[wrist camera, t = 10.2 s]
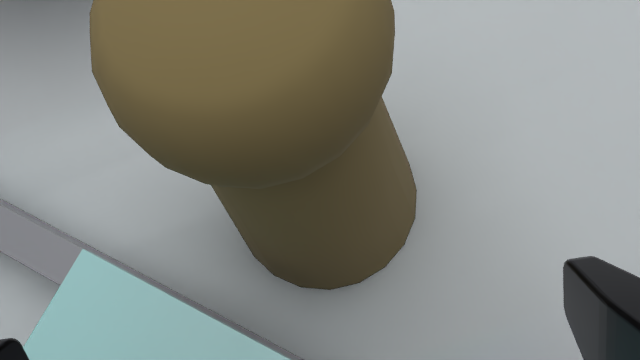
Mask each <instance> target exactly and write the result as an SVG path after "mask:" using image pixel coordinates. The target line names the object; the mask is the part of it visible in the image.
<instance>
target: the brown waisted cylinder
mask: <svg viewBox="0 0 640 360" xmlns="http://www.w3.org/2000/svg"><path fill="white" fill-rule="evenodd" d="M394 36H395V20H394V9H393V6H392V2H391V0H94V1H93V4H92V8H91V11H90V44H91V61H92V73H93V75H94V77H95V79H96V81H97V83H98V85H99V88H100V90H101V92H102V94H103V96H104V98H105V100H106V103H107V105H108V107H109V109H110V111H111V112H112V114H113V116H114V118H115V120H116V122H117V124H118V125H119V127H120V128H121V129H122V130H123V131H124V132H125V133H126V134H128V135H129V136H130V137H131V138H132V139H133V140H134V141H135V142H136V143H137V144H138V145H139V146H140V147H142V148H143V149H144V150H145V151H146V152H147V153H148V154H149V155H150V156H151V157H153V158H154V159H155V160H157V161H158V162H159V163H160V164H162V165H163V166H164V167H166V168H168V169H171V170H173V171H175V172H178V173H180V174H183V175H185V176H188V177H190V178H193V179H195V180H198V181H200V182H202V183H205V184H209V185H211V186H212V188H213V189H214V191H215V192H216V194H217V196H218V197H219V199H220V201H221V202H222V204H223V206H224V207H225V209H226V211H227V212H228V214H229V216H230V217H231V219H232V221H233V222H234V224H235V226H236V227H237V229H238V231H239V232H240V234H241V236H242V237H243V239H244V240H245V242H246V244H247V245H248V247H249V249H250V250H251V252H252V254H253V255H254V257H255V258H256V259H257V260H258V261H259V262H261V263H262V264H263V265H264V266H265V267H266V268H267V269H268V270H269V271H270V272H271V273H272V274H273V275H275V276H277V277H279V278H281V279H284V280H286V281H288V282H290V283H293V284H295V285H297V286H299V287H306V288H317V289H328V290H330V289H335V288H339V287H343V286H348V285H352V284H356V283H360V282H361V281H363V280H364V279H366V278H368V277H369V276H371V275H373V274H374V273H376V272H378V271H379V270H381V269H383V268H384V267H385V266H386V265H387V264H388V263H389V262H390V260H391V259H392V258H393V257H394V256H395V255H396V253H397V252H398V251H399V250H400V249H401V248H402V246H403V245H404V244H405V241H406V239H407V236H408V234H409V231H410V229H411V226H412V224H413V222H414V219H415V209H416V191H417V190H416V186H415V183H414V179H413V176H412V172H411V169H410V165H409V162H408V160H407V157H406V155H405V152H404V150H403V148H402V145H401V143H400V140H399V138H398V135H397V133H396V130H395V128H394V126H393V123H392V121H391V118H390V116H389V113H388V111H387V109H386V106H385V104H384V101H383V99H382V94H383V92H384V89H385V87H386V85H387V83H388V80H389V78H390V76H391V74H392V62H393V49H394Z"/></svg>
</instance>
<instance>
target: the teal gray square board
mask: <svg viewBox="0 0 640 360" xmlns="http://www.w3.org/2000/svg"><path fill="white" fill-rule="evenodd" d="M0 251H1V252H2V253H4V254H6V255H8V256H9V257H11V258H13V259H15V260H16V261H18V262H20V263H22V264H23V265H25V266H27V267H29V268H30V269H32V270H34V271H36V272H37V273H39V274H41V275H43V276H44V277H46V278H48V279H50V280H51V281H53V282H55V283H57V284H59V285H60V287H59V289H58V291H57V292H56V294H55V296H54V297H53V299H52V300H51V302H50V304H49V305H48V307H47V309H46V310H45V312H44V314H43V315H42V317H41V319H40V320H39V322H38V324H37V325H36V327H35V329H34V330H33V332H32V334H31V335H30V337H29V339H28V340H27V342H26V344H25V345H24V347H23V348H24V350H25V352H26V354H27V356H28V358H29V360H303V359H301V358H299V357H298V356H296V355H294V354H292V353H290V352H288V351H286V350H284V349H282V348H281V347H279V346H277V345H275V344H273V343H271V342H269V341H267V340H266V339H264V338H262V337H260V336H258V335H256V334H254V333H252V332H250V331H249V330H247V329H245V328H243V327H241V326H239V325H237V324H235V323H234V322H232V321H230V320H228V319H226V318H224V317H222V316H220V315H218V314H217V313H215V312H213V311H211V310H209V309H207V308H205V307H203V306H202V305H200V304H198V303H196V302H194V301H192V300H190V299H188V298H186V297H185V296H183V295H181V294H179V293H177V292H175V291H173V290H171V289H170V288H168V287H166V286H164V285H162V284H160V283H158V282H156V281H154V280H153V279H151V278H149V277H147V276H145V275H143V274H141V273H139V272H137V271H136V270H134V269H132V268H130V267H128V266H126V265H124V264H122V263H121V262H119V261H117V260H115V259H113V258H111V257H109V256H107V255H105V254H104V253H102V252H100V251H98V250H96V249H94V248H92V247H90V246H89V245H87V244H85V243H83V242H81V241H79V240H77V239H75V238H73V237H72V236H70V235H68V234H66V233H64V232H62V231H60V230H58V229H57V228H55V227H53V226H51V225H49V224H47V223H45V222H43V221H41V220H40V219H38V218H36V217H34V216H32V215H30V214H28V213H26V212H24V211H23V210H21V209H19V208H17V207H15V206H13V205H11V204H9V203H8V202H6V201H4V200H2V199H0Z"/></svg>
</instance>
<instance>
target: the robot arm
mask: <svg viewBox="0 0 640 360" xmlns="http://www.w3.org/2000/svg"><path fill="white" fill-rule="evenodd" d="M563 288H564V309H565V314H566V317H567V320H568V323H569V325H570V328H571V330H572V332H573V335H574V337H575V340H576V342H577V345H578V347H579V349H580V352H581V354H582V357H583V359H584V360H640V278H639V277H637V276H635V275H633V274H631V273H629V272H627V271H624V270H622V269H620V268H618V267H616V266H614V265H612V264H609V263H607V262H605V261H603V260H601V259H599V258H596V257H593V256H588V257H581V258H574V259H568V260H567V261H566V262H565V263H564V267H563ZM0 360H29V358H28V356H27V354H26V352H25V350H24V348H23V347H22V345H21V343H20V342H19V341H18V340H16V339H13V338H8V339H1V340H0Z"/></svg>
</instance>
